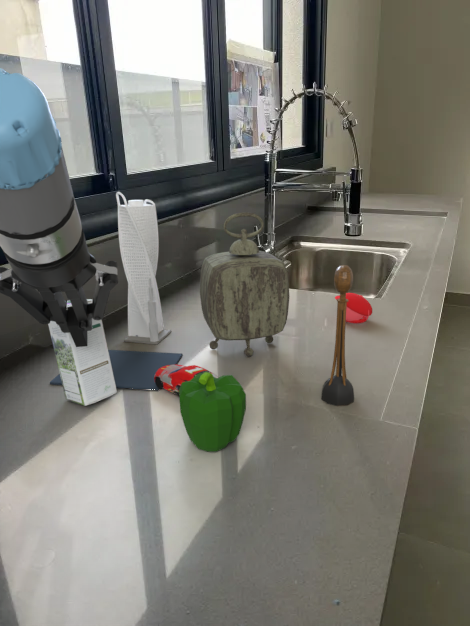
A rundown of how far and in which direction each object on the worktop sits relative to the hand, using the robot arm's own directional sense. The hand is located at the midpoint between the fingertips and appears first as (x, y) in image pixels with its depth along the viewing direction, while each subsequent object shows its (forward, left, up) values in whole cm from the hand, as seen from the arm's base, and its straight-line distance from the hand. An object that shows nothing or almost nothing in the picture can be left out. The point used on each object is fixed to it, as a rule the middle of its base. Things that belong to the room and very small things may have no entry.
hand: (81, 337), depth 68 cm
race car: (+13, +7, -11) cm, 18 cm away
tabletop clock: (+19, +24, -11) cm, 32 cm away
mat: (-1, +14, -11) cm, 18 cm away
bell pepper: (+19, -5, -11) cm, 23 cm away
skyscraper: (-2, +30, -11) cm, 32 cm away
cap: (+39, +44, -11) cm, 60 cm away
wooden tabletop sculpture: (+35, +9, -11) cm, 38 cm away
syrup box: (-1, +3, -11) cm, 11 cm away
